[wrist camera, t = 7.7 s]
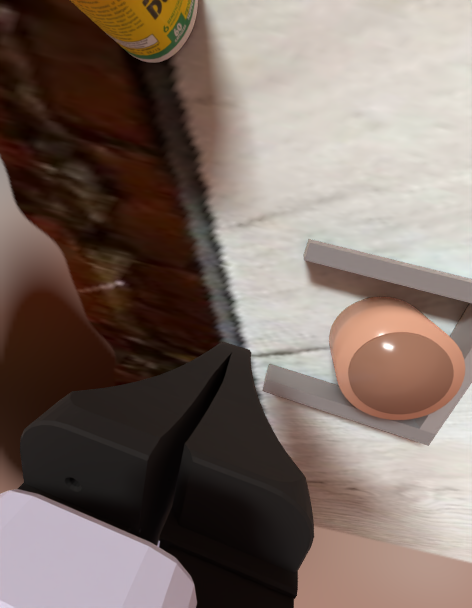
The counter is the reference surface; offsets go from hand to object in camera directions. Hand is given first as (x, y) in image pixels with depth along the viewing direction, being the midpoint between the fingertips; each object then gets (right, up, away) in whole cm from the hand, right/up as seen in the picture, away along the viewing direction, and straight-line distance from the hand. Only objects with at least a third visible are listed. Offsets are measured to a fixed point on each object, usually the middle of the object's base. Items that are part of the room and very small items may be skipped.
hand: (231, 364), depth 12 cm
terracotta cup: (+10, 0, +6) cm, 11 cm away
